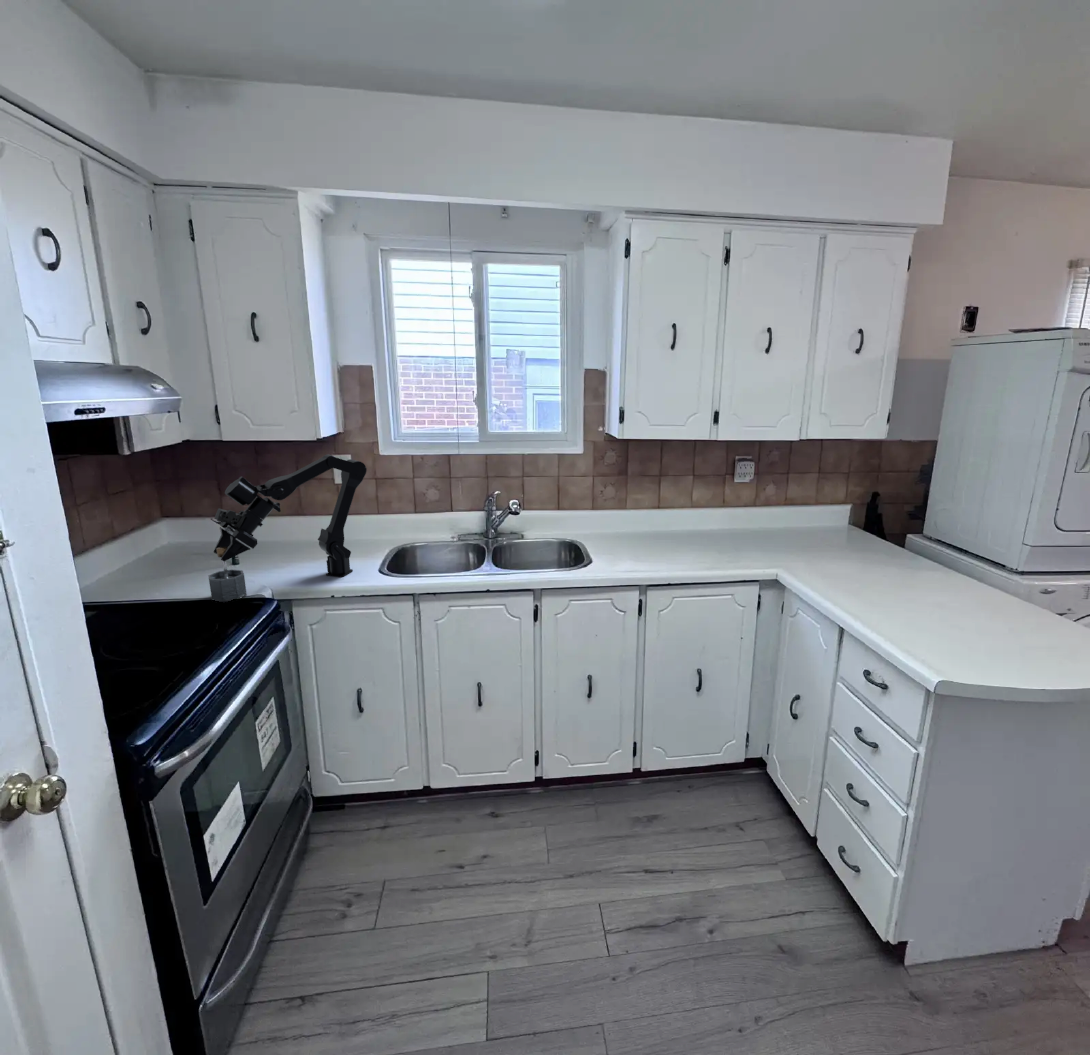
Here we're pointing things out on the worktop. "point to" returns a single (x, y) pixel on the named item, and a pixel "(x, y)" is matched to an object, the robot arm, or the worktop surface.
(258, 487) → the robot arm
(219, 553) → the plunger
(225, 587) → the grey octagonal pot
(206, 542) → the worktop surface
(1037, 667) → the worktop surface
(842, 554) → the worktop surface
